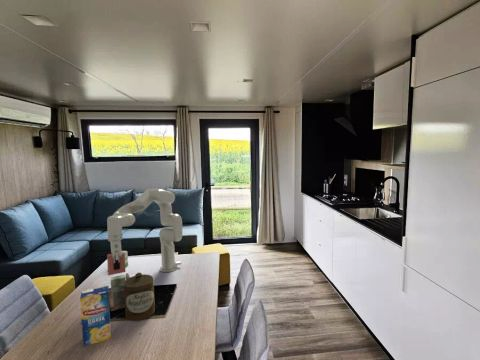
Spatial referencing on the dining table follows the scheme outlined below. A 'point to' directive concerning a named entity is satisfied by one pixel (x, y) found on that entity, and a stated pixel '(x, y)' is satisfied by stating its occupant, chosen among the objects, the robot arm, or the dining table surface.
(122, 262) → the salmon red block
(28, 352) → the dining table surface
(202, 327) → the dining table surface
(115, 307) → the shelf
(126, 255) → the ink box
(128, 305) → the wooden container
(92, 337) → the beverage box
